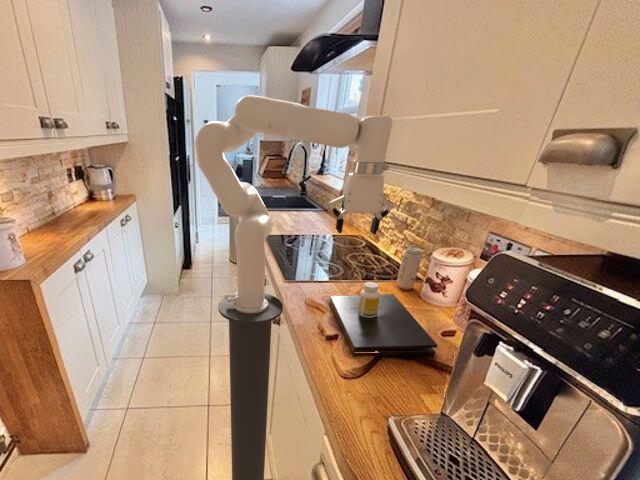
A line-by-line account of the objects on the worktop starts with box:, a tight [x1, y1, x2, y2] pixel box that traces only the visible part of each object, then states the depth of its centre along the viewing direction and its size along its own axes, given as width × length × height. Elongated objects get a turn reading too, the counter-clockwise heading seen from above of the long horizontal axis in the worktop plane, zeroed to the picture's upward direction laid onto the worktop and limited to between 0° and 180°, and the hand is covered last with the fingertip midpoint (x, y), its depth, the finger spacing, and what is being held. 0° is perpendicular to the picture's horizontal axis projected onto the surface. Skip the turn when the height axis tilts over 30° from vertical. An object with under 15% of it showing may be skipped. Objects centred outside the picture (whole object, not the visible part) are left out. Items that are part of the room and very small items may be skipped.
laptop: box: [329, 298, 437, 358], centre depth 98 cm, size 21×30×2 cm
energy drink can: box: [396, 246, 423, 290], centre depth 121 cm, size 6×6×15 cm
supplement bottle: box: [358, 281, 381, 318], centre depth 97 cm, size 5×5×10 cm
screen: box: [330, 293, 439, 350], centre depth 98 cm, size 21×30×1 cm
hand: (355, 232), depth 94 cm, fingers open, 9 cm apart
